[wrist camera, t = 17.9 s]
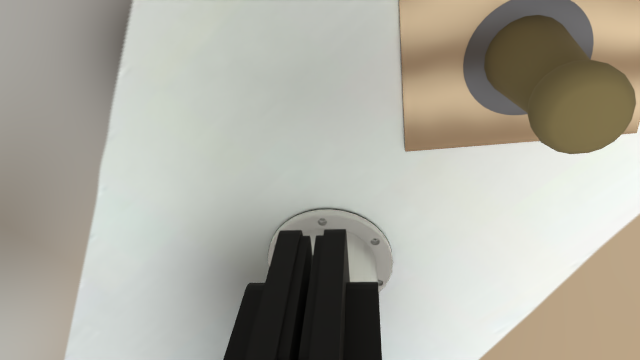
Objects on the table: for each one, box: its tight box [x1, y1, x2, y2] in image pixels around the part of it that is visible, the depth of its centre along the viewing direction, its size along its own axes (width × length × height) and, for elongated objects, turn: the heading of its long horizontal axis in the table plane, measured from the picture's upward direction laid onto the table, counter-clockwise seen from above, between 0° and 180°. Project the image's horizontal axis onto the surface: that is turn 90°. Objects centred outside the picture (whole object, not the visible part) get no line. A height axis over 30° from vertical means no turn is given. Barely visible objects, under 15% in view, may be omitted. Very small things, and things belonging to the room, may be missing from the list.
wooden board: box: [399, 0, 640, 151], centre depth 33 cm, size 14×18×1 cm
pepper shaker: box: [484, 15, 636, 154], centre depth 28 cm, size 6×6×11 cm
